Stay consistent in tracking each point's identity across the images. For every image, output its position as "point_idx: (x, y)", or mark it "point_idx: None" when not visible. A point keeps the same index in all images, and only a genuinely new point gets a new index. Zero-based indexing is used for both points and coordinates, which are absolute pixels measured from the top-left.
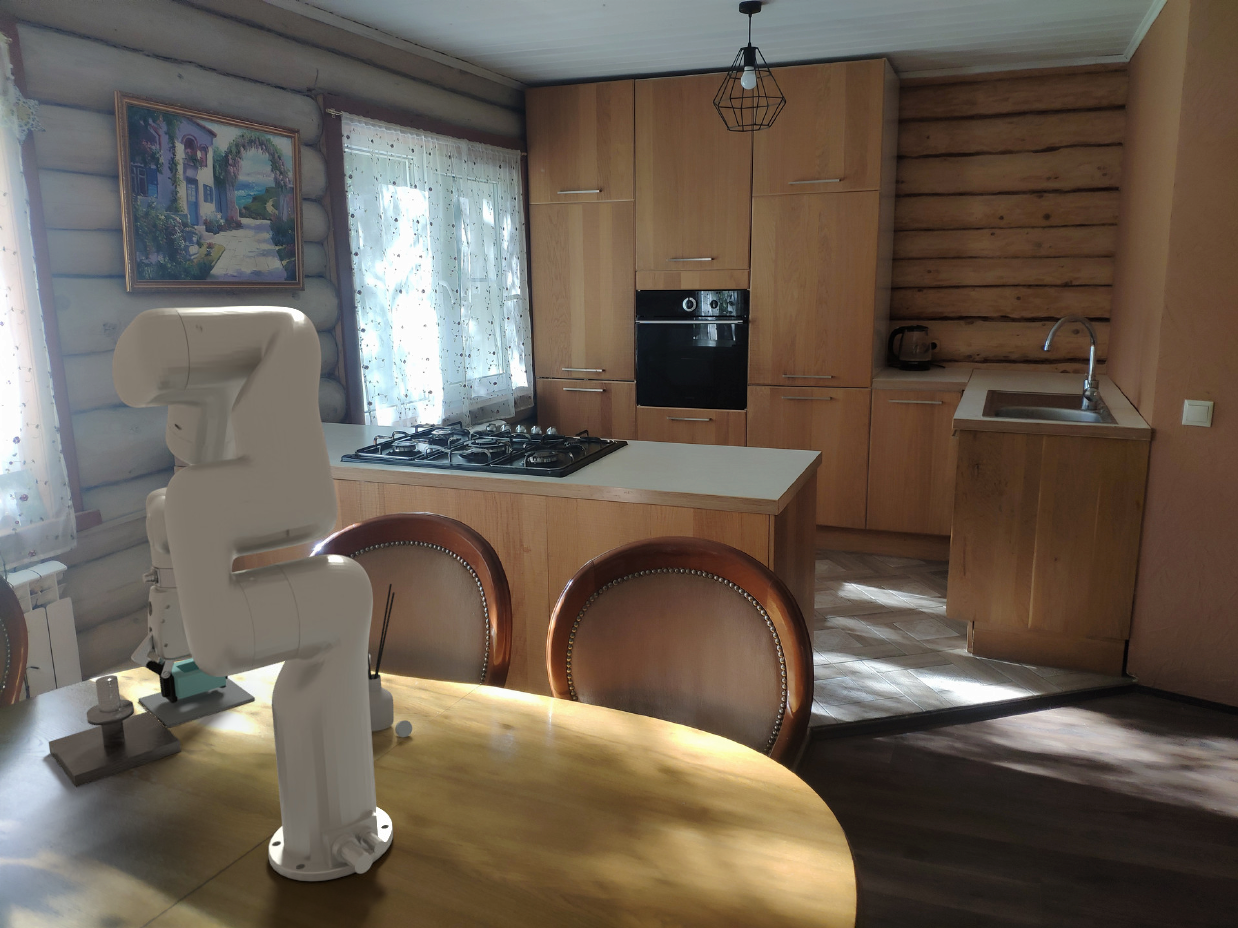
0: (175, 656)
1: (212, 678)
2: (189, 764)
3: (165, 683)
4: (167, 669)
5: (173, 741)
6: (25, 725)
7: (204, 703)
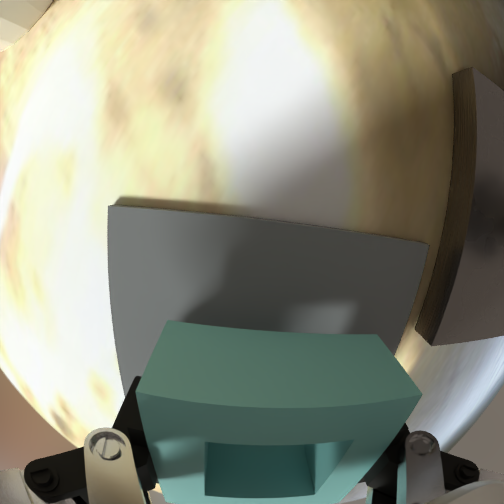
0: (467, 497)
1: (229, 360)
2: (447, 15)
3: None
4: (425, 459)
5: (482, 79)
6: (462, 430)
7: (266, 314)
